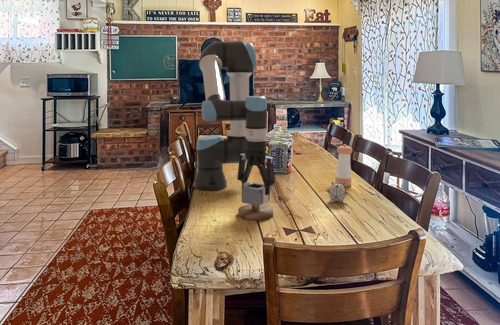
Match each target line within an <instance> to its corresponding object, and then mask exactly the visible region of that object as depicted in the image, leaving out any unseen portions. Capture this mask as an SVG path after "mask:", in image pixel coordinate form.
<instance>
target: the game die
mask: <svg viewBox="0 0 500 325" xmlns="http://www.w3.org/2000/svg"><path fill="white" fill-rule="evenodd" d="M344 184H345V183H343V184H335V182H333V181H331V186H330V187H329V189H327V190H326V192H327V194H328V196H329V199H330V200H329V201H330V202H329V203H332V202H341V203H342V204H344V199H345V198H346V196H347V195H349V193H348V192H347V191H346V186H344Z"/></svg>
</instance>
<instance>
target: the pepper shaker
mask: <svg viewBox="0 0 500 325" xmlns="http://www.w3.org/2000/svg"><path fill="white" fill-rule="evenodd" d="M336 152H337V153H338V155H337V156H338V158H337V160H338V161H337V166H336V174H335V178H334V179H335V180H334V181H335V182H334V184H343V183H345V184H344V187H350V185H352V177H351V176H352V167H351V155H352V153H353V147H351V146H348V145H347V144H346V143H343V145H340V146H338V147H337V148H336Z"/></svg>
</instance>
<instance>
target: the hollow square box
mask: <svg viewBox="0 0 500 325" xmlns="http://www.w3.org/2000/svg"><path fill="white" fill-rule="evenodd" d="M263 186H264V183H258V182H249V184H248V185H245V186H242V185H241V203H242V204H246V205H256V206H260V205H263V204H262V200H263ZM270 201H271V193H270V194H269V195H268V202H270Z"/></svg>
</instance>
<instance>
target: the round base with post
mask: <svg viewBox="0 0 500 325" xmlns="http://www.w3.org/2000/svg"><path fill="white" fill-rule="evenodd" d="M237 210H238V211H237V216H238V217H239V218H241V219H242V220H244V221H253V222H255V221H256V222H257V221H258V222H259V221H267V220H270V219H272V218H273V216H274V208H273V207H272V206H269V205H265V204H262V205H260V206H256V205H251V204H246V205H242V206H240V207H238V209H237Z"/></svg>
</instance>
